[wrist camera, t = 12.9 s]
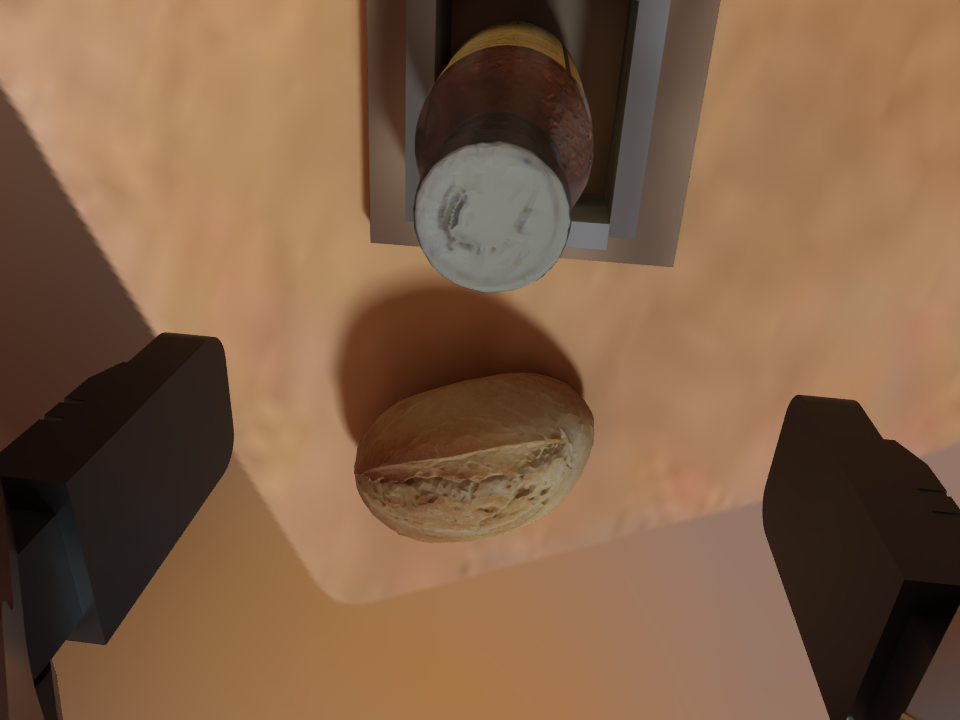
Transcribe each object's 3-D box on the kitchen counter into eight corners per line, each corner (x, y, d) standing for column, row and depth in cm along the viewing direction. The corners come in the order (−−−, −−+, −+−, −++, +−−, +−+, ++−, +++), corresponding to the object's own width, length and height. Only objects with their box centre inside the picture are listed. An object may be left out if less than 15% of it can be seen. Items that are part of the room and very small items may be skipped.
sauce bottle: (423, 83, 36) (294, 191, 19) (522, -13, 34) (479, 7, 17) (512, 186, 38) (470, 370, 21) (612, 101, 36) (658, 228, 18)
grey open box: (729, -87, 33) (764, -100, 28) (669, 257, 41) (686, 304, 35) (372, -106, 34) (333, -121, 29) (376, 234, 42) (346, 275, 36)
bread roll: (332, 394, 47) (291, 469, 40) (561, 320, 43) (560, 388, 36) (397, 512, 51) (370, 600, 44) (613, 453, 47) (621, 539, 40)
